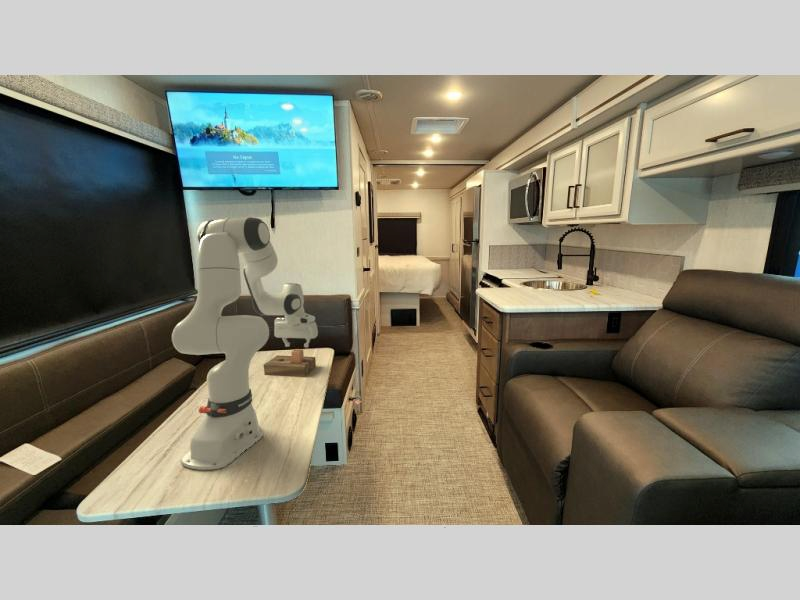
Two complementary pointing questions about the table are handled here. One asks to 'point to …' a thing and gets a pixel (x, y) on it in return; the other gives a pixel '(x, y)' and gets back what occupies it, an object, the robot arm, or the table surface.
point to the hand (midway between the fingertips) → (297, 346)
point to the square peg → (297, 356)
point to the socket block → (289, 366)
